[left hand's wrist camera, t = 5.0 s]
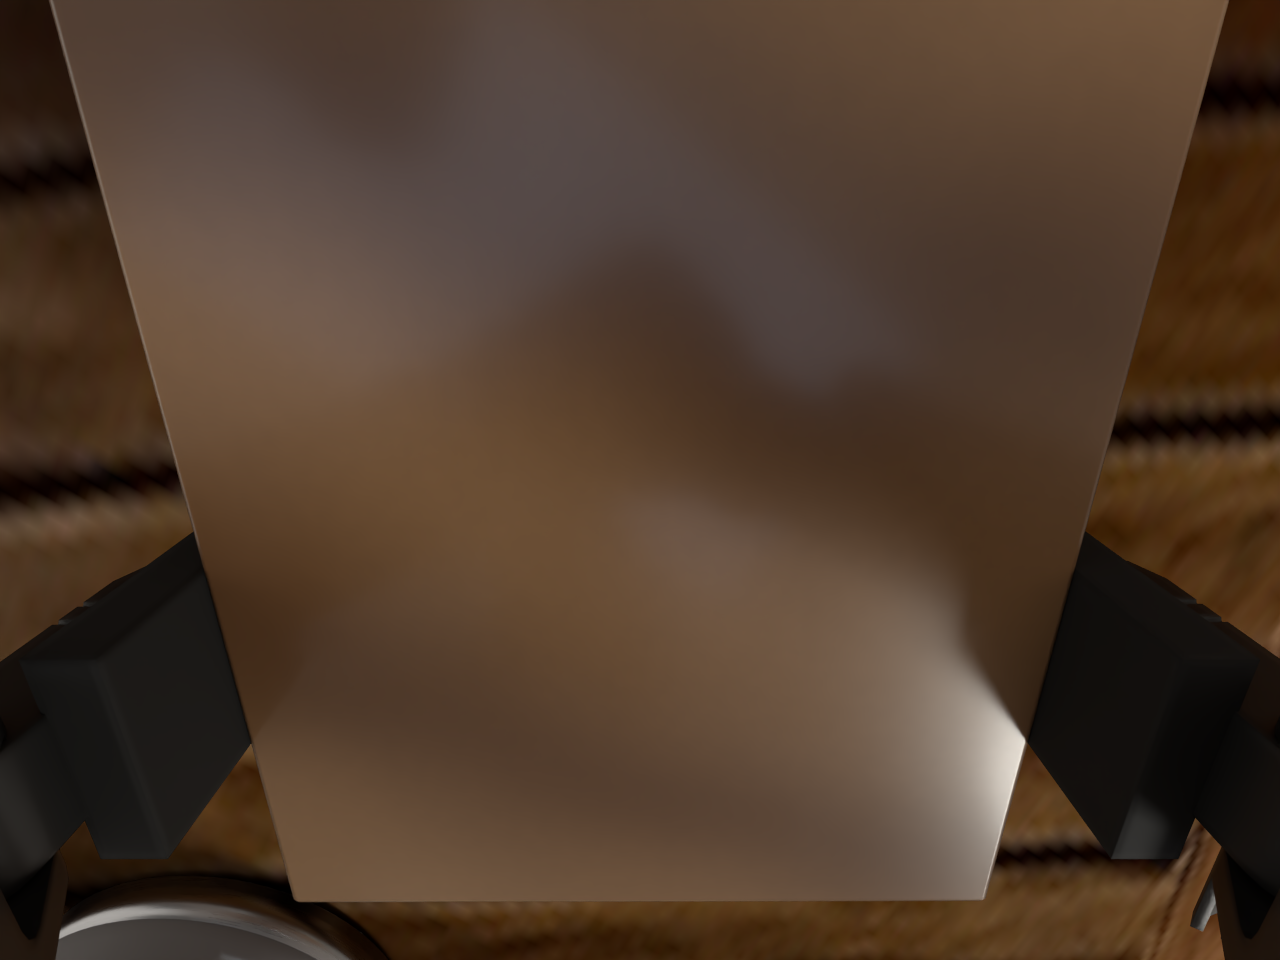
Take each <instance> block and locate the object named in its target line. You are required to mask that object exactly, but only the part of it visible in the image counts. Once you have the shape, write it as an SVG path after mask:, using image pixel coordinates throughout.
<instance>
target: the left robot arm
mask: <svg viewBox="0 0 1280 960" xmlns="http://www.w3.org/2000/svg"><path fill="white" fill-rule="evenodd" d="M250 744H251V740H250V737H249V733H248V729H247V726H246V722H245V718H244V715H243V711H242V707H241V704H240V700H239V696H238V693H237V689H236V685H235V682H234V678H233V674H232V671H231V667H230V663H229V660H228V656H227V652H226V649H225V645H224V641H223V638H222V634H221V630H220V627H219V623H218V619H217V616H216V612H215V608H214V605H213V601H212V597H211V594H210V590H209V586H208V583H207V579H206V575H205V572H204V568H203V564H202V561H201V557H200V553H199V550H198V546H197V542H196V539H195V535H194V532H192V533H191V534H190V535H188V536H187V537H185V538H184V539H183V540H181V541H180V542H179V543H177V544H176V545H174V546H173V547H172V548H170V549H169V550H168V551H166V552H165V553H164V554H162V555H161V556H159V557H158V558H157V559H155V560H154V561H153V562H151V563H150V564H149V565H147V566H146V567H143V568H141V569H139V570H137V571H135V572H132V573H130V574H128V575H126V576H124V577H122V578H119V579H117V580H115V581H113V582H112V583H110V584H109V585H107V586H106V587H105V588H103V589H102V590H100V591H99V592H98V593H96V594H95V595H93V596H92V597H91V598H89V599H88V600H86V601H85V602H84V605H83V607H77V608H75V609H74V610H72V611H71V612H70V613H68V614H67V615H65V616H64V617H63V618H61V619H60V620H59V624H58V625H51V626H50V627H49V628H47V629H46V630H44V631H43V632H42V633H40V634H39V635H37V636H36V637H35V638H33V639H32V640H30V641H29V642H28V643H26V644H25V645H23V646H22V647H21V648H19V649H18V650H16V651H15V652H14V653H12V654H11V655H9V656H8V657H7V658H5V659H4V660H2V661H1V662H0V960H388V959H387V958H386V956H385V955H384V954H383V953H382V952H381V951H380V950H379V949H378V948H377V947H376V946H375V944H373V943H372V942H371V941H370V940H369V939H368V938H367V937H365V936H364V935H363V934H362V933H361V932H359V931H358V930H357V929H355V928H354V927H353V926H351V925H350V924H348V923H347V922H345V921H344V920H342V919H341V918H339V917H337V916H336V915H334V914H332V913H330V912H329V911H327V910H325V909H323V908H321V907H319V906H317V905H315V904H313V903H311V902H298V901H295V900H294V898H293V895H291V894H288V893H286V892H283V891H279V890H276V889H273V888H270V887H266V886H262V885H258V884H254V883H249V882H245V881H240V880H233V879H227V878H218V877H208V876H163V877H154V878H146V879H141V880H136V881H131V882H126V883H123V884H120V885H116V886H113V887H110V888H107V889H105V890H102V891H100V892H97V893H95V894H93V895H91V896H90V897H88V898H86V899H84V900H82V901H81V902H79V903H78V904H76V905H75V906H74V907H72V908H71V909H70V910H69V911H67V912H66V913H65V914H64V915H63V911H64V905H65V898H66V892H67V886H68V880H69V878H68V872H67V867H66V863H65V861H64V859H63V856H62V854H61V852H60V850H59V849H60V847H61V846H62V845H63V844H64V843H65V842H66V841H67V840H68V839H69V837H70V836H71V835H72V834H73V833H74V832H75V831H76V830H77V829H78V827H79V826H80V825H81V824H82V823H83V822H84V821H85V822H86V824H87V827H88V829H89V832H90V834H91V836H92V839H93V841H94V844H95V846H96V849H97V851H98V853H99V856H100V858H101V859H168V858H169V856H170V855H171V854H172V852H173V851H174V850H175V848H176V847H177V845H178V844H179V843H180V841H181V840H182V838H183V837H184V836H185V834H186V833H187V832H188V830H189V829H190V827H191V826H192V825H193V823H194V822H195V820H196V819H197V818H198V816H199V815H200V813H201V812H202V811H203V809H204V808H205V807H206V805H207V804H208V802H209V801H210V800H211V798H212V797H213V795H214V794H215V793H216V791H217V790H218V789H219V787H220V786H221V784H222V783H223V782H224V780H225V779H226V777H227V776H228V775H229V773H230V772H231V770H232V769H233V768H234V766H235V765H236V764H237V762H238V761H239V759H240V758H241V757H242V755H243V754H244V752H245V751H246V750H247V748H248V747H249V746H250ZM1028 744H1029V745H1030V747H1031V748H1032V749H1033V751H1034V752H1035V754H1036V755H1037V756H1038V758H1039V759H1040V760H1041V762H1042V763H1043V765H1044V766H1045V767H1046V769H1047V770H1048V772H1049V773H1050V774H1051V776H1052V777H1053V779H1054V780H1055V781H1056V783H1057V784H1058V785H1059V787H1060V788H1061V790H1062V791H1063V792H1064V794H1065V795H1066V797H1067V798H1068V799H1069V801H1070V802H1071V803H1072V805H1073V806H1074V808H1075V809H1076V810H1077V812H1078V813H1079V815H1080V816H1081V817H1082V819H1083V820H1084V822H1085V823H1086V824H1087V826H1088V827H1089V828H1090V830H1091V831H1092V833H1093V834H1094V835H1095V837H1096V838H1097V840H1098V841H1099V842H1100V844H1101V845H1102V846H1103V848H1104V849H1105V851H1106V852H1107V853H1108V855H1109V856H1110V858H1111V859H1178V858H1179V856H1180V853H1181V851H1182V848H1183V846H1184V844H1185V841H1186V839H1187V836H1188V834H1189V832H1190V829H1191V827H1192V824H1193V822H1194V819H1195V818H1196V819H1197V820H1198V821H1199V822H1200V823H1201V824H1202V825H1203V827H1204V828H1205V829H1206V830H1207V831H1208V832H1209V833H1210V834H1211V835H1212V836H1213V838H1214V839H1215V840H1216V841H1217V842H1218V843H1219V844H1220V845H1221V846H1222V847H1221V850H1220V852H1219V854H1218V856H1217V859H1216V861H1215V863H1214V865H1213V868H1212V870H1211V872H1210V874H1209V877H1208V879H1207V881H1206V883H1205V886H1204V888H1203V890H1202V892H1201V895H1200V897H1199V899H1198V902H1197V904H1196V906H1195V908H1194V911H1193V915H1192V920H1191V925H1190V926H1191V927H1194V928H1196V929H1198V930H1201V931H1203V930H1204V927H1205V925H1206V923H1207V921H1208V919H1209V916H1211V915H1213V914H1216V913H1217V914H1218V920H1219V926H1220V932H1221V939H1222V945H1223V951H1224V957H1225V960H1280V659H1279V658H1278V657H1276V656H1275V655H1274V654H1272V653H1271V652H1269V651H1268V650H1267V649H1265V648H1264V647H1262V646H1261V645H1260V644H1258V643H1257V642H1255V641H1254V640H1252V639H1251V638H1250V637H1248V636H1247V635H1245V634H1244V633H1243V632H1241V631H1240V630H1238V629H1237V628H1236V627H1234V626H1233V625H1231V624H1230V623H1229V622H1222V621H1221V617H1220V616H1219V615H1217V614H1216V613H1214V612H1213V611H1212V610H1210V609H1209V608H1207V607H1206V606H1205V605H1203V604H1197V603H1196V599H1195V598H1193V597H1192V596H1190V595H1189V594H1188V593H1186V592H1185V591H1183V590H1182V589H1181V588H1179V587H1178V586H1176V585H1175V584H1174V583H1172V582H1171V581H1169V580H1168V579H1166V578H1164V577H1162V576H1160V575H1157V574H1155V573H1153V572H1151V571H1149V570H1146V569H1144V568H1142V567H1140V566H1138V565H1136V564H1133V563H1131V562H1129V561H1125V560H1124V559H1122V558H1121V557H1120V556H1118V555H1117V554H1116V553H1114V552H1113V551H1111V550H1110V549H1109V548H1107V547H1106V546H1105V545H1103V544H1102V543H1101V542H1099V541H1098V540H1096V539H1095V538H1094V537H1092V536H1091V535H1090V534H1088V533H1087V532H1086V531H1085V533H1084V536H1083V540H1082V544H1081V547H1080V551H1079V555H1078V558H1077V562H1076V566H1075V570H1074V573H1073V577H1072V581H1071V584H1070V588H1069V592H1068V595H1067V599H1066V603H1065V606H1064V610H1063V614H1062V617H1061V621H1060V625H1059V629H1058V632H1057V636H1056V640H1055V643H1054V647H1053V651H1052V654H1051V658H1050V662H1049V665H1048V669H1047V673H1046V676H1045V680H1044V684H1043V687H1042V691H1041V695H1040V699H1039V702H1038V706H1037V710H1036V713H1035V717H1034V721H1033V724H1032V728H1031V732H1030V735H1029V739H1028Z"/></svg>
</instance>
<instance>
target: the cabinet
mask: <svg viewBox="0 0 1280 960" xmlns="http://www.w3.org/2000/svg"><path fill="white" fill-rule="evenodd" d="M1228 2H1229V0H49V3H50V7H51V11H52V14H53V18H54V22H55V25H56V29H57V33H58V36H59V40H60V44H61V47H62V51H63V55H64V58H65V62H66V66H67V69H68V73H69V77H70V80H71V84H72V88H73V91H74V95H75V99H76V102H77V106H78V110H79V113H80V117H81V121H82V124H83V128H84V132H85V135H86V139H87V143H88V146H89V150H90V154H91V157H92V161H93V165H94V168H95V172H96V176H97V179H98V183H99V187H100V190H101V194H102V198H103V201H104V205H105V209H106V212H107V216H108V220H109V223H110V227H111V231H112V234H113V238H114V242H115V245H116V249H117V253H118V256H119V260H120V264H121V267H122V271H123V275H124V278H125V282H126V286H127V289H128V293H129V297H130V300H131V304H132V308H133V311H134V315H135V319H136V322H137V326H138V330H139V333H140V337H141V341H142V344H143V348H144V352H145V355H146V359H147V363H148V366H149V370H150V374H151V377H152V381H153V385H154V388H155V392H156V396H157V399H158V403H159V407H160V410H161V414H162V418H163V421H164V425H165V429H166V432H167V436H168V440H169V443H170V447H171V451H172V454H173V458H174V462H175V465H176V469H177V473H178V476H179V480H180V484H181V487H182V491H183V495H184V498H185V502H186V506H187V509H188V513H189V517H190V520H191V524H192V528H193V531H194V535H195V539H196V542H197V546H198V550H199V553H200V557H201V561H202V564H203V568H204V572H205V575H206V579H207V583H208V586H209V590H210V594H211V597H212V601H213V605H214V608H215V612H216V616H217V619H218V623H219V627H220V630H221V634H222V638H223V641H224V645H225V649H226V652H227V656H228V660H229V663H230V667H231V671H232V674H233V678H234V682H235V685H236V689H237V693H238V696H239V700H240V704H241V707H242V711H243V715H244V718H245V722H246V726H247V729H248V733H249V737H250V740H251V744H252V748H253V751H254V755H255V759H256V762H257V766H258V770H259V773H260V777H261V781H262V784H263V788H264V792H265V795H266V799H267V803H268V806H269V810H270V814H271V817H272V821H273V825H274V828H275V832H276V836H277V839H278V843H279V847H280V850H281V854H282V858H283V861H284V865H285V869H286V872H287V876H288V880H289V883H290V887H291V891H292V894H293V898H294V900H295V901H298V902H591V901H981V900H983V899H985V898H986V894H987V890H988V887H989V883H990V879H991V875H992V872H993V868H994V864H995V861H996V857H997V853H998V850H999V846H1000V842H1001V839H1002V835H1003V831H1004V828H1005V824H1006V820H1007V816H1008V813H1009V809H1010V805H1011V802H1012V798H1013V794H1014V791H1015V787H1016V783H1017V780H1018V776H1019V772H1020V769H1021V765H1022V761H1023V758H1024V754H1025V750H1026V746H1027V743H1028V739H1029V735H1030V732H1031V728H1032V724H1033V721H1034V717H1035V713H1036V710H1037V706H1038V702H1039V699H1040V695H1041V691H1042V687H1043V684H1044V680H1045V676H1046V673H1047V669H1048V665H1049V662H1050V658H1051V654H1052V651H1053V647H1054V643H1055V640H1056V636H1057V632H1058V629H1059V625H1060V621H1061V617H1062V614H1063V610H1064V606H1065V603H1066V599H1067V595H1068V592H1069V588H1070V584H1071V581H1072V577H1073V573H1074V570H1075V566H1076V562H1077V558H1078V555H1079V551H1080V547H1081V544H1082V540H1083V536H1084V533H1085V529H1086V525H1087V522H1088V518H1089V514H1090V511H1091V507H1092V503H1093V500H1094V496H1095V492H1096V488H1097V485H1098V481H1099V477H1100V474H1101V470H1102V466H1103V463H1104V459H1105V455H1106V452H1107V448H1108V444H1109V441H1110V437H1111V433H1112V429H1113V426H1114V422H1115V418H1116V415H1117V411H1118V407H1119V404H1120V400H1121V396H1122V393H1123V389H1124V385H1125V382H1126V378H1127V374H1128V371H1129V367H1130V363H1131V359H1132V356H1133V352H1134V348H1135V345H1136V341H1137V337H1138V334H1139V330H1140V326H1141V323H1142V319H1143V315H1144V312H1145V308H1146V304H1147V300H1148V297H1149V293H1150V289H1151V286H1152V282H1153V278H1154V275H1155V271H1156V267H1157V264H1158V260H1159V256H1160V253H1161V249H1162V245H1163V242H1164V238H1165V234H1166V230H1167V227H1168V223H1169V219H1170V216H1171V212H1172V208H1173V205H1174V201H1175V197H1176V194H1177V190H1178V186H1179V183H1180V179H1181V175H1182V171H1183V168H1184V164H1185V160H1186V157H1187V153H1188V149H1189V146H1190V142H1191V138H1192V135H1193V131H1194V127H1195V124H1196V120H1197V116H1198V113H1199V109H1200V105H1201V101H1202V98H1203V94H1204V90H1205V87H1206V83H1207V79H1208V76H1209V72H1210V68H1211V65H1212V61H1213V57H1214V54H1215V50H1216V46H1217V42H1218V39H1219V35H1220V31H1221V28H1222V24H1223V20H1224V17H1225V13H1226V9H1227V6H1228Z"/></svg>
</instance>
